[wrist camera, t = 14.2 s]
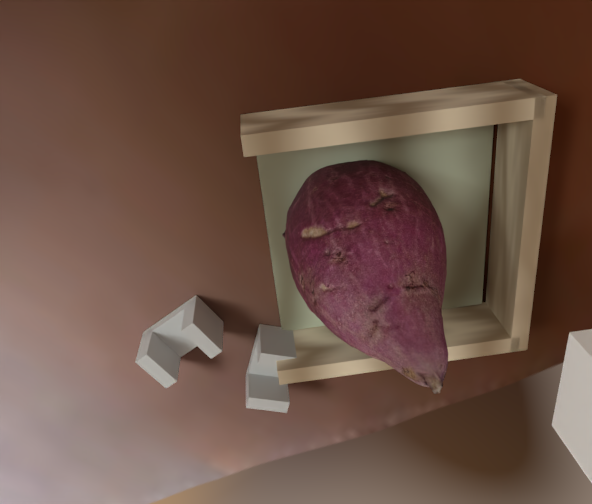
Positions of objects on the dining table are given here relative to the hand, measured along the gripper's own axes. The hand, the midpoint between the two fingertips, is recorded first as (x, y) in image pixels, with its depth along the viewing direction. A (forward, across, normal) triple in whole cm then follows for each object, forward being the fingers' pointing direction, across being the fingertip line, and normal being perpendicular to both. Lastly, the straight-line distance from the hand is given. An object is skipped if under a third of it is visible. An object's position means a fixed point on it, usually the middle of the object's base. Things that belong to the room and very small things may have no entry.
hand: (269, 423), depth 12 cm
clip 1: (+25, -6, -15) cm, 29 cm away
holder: (+24, +9, -8) cm, 27 cm away
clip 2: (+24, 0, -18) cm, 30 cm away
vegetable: (+24, +7, -8) cm, 27 cm away
